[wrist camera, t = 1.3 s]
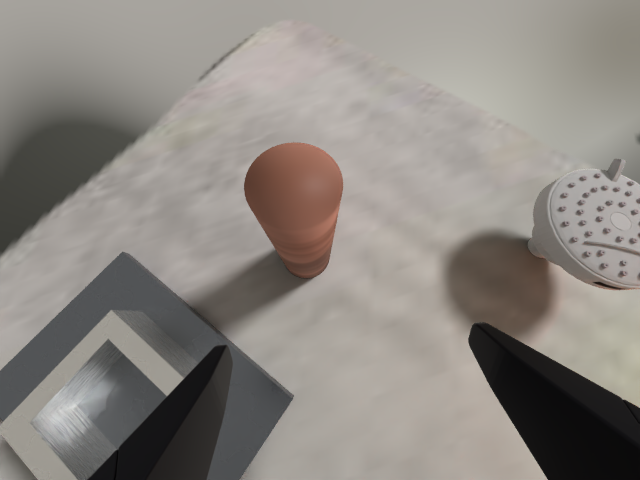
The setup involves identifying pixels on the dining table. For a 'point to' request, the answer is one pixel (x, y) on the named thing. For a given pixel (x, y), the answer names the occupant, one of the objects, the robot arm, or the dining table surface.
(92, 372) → the dock
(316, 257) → the peg
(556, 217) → the showerhead
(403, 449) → the dining table surface
